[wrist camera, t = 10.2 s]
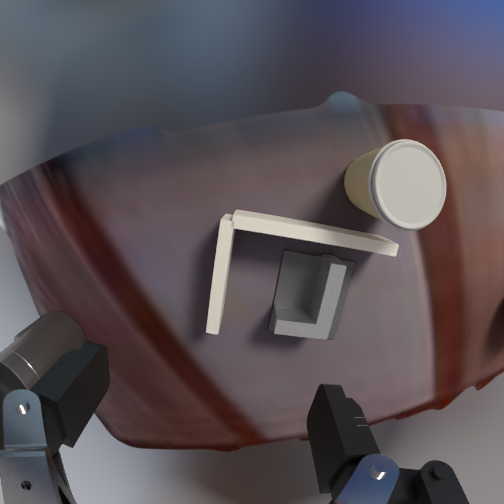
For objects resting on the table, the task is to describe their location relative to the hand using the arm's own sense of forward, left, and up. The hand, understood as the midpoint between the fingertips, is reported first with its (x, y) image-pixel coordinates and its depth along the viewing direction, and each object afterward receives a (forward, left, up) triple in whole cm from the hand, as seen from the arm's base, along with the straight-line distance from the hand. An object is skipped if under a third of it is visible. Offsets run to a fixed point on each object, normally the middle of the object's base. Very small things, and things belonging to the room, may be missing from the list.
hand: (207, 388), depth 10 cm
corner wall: (+8, -4, -30) cm, 31 cm away
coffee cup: (+16, +10, -30) cm, 35 cm away
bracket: (+9, -5, -30) cm, 31 cm away
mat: (+11, -7, -30) cm, 32 cm away
